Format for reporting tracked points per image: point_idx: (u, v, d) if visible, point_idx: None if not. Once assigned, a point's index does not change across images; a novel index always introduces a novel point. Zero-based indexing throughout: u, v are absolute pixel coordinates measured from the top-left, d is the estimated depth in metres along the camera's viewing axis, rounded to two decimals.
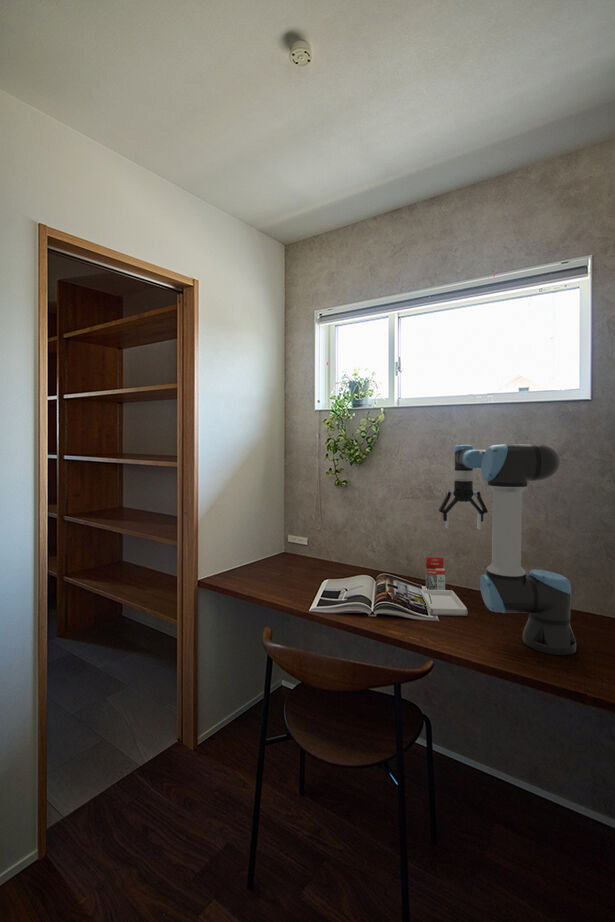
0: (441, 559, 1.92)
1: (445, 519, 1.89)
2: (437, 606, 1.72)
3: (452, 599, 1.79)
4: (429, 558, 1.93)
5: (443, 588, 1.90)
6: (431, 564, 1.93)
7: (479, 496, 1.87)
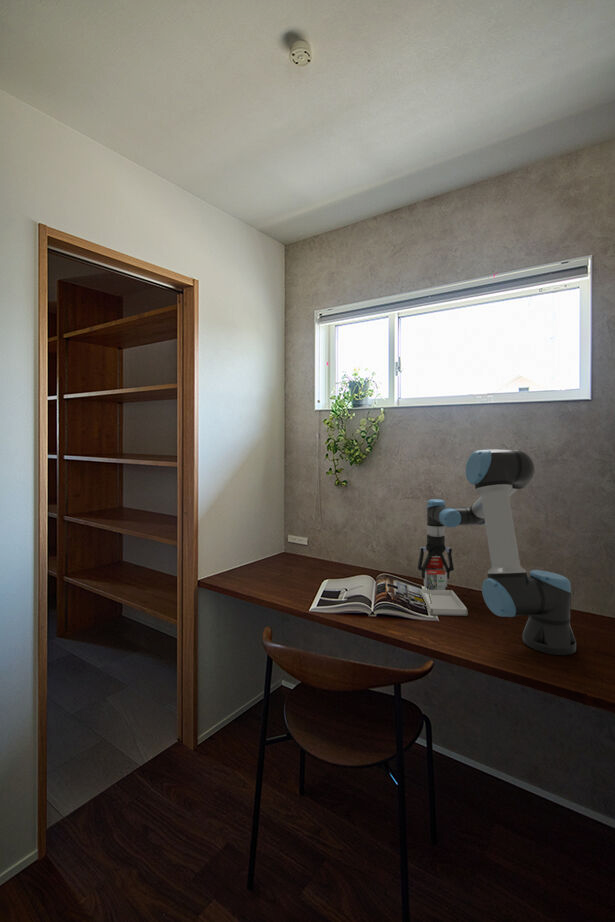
0: None
1: (423, 576, 1.91)
2: (437, 606, 1.72)
3: (452, 599, 1.79)
4: None
5: (443, 588, 1.90)
6: (432, 564, 1.93)
7: (450, 553, 1.89)
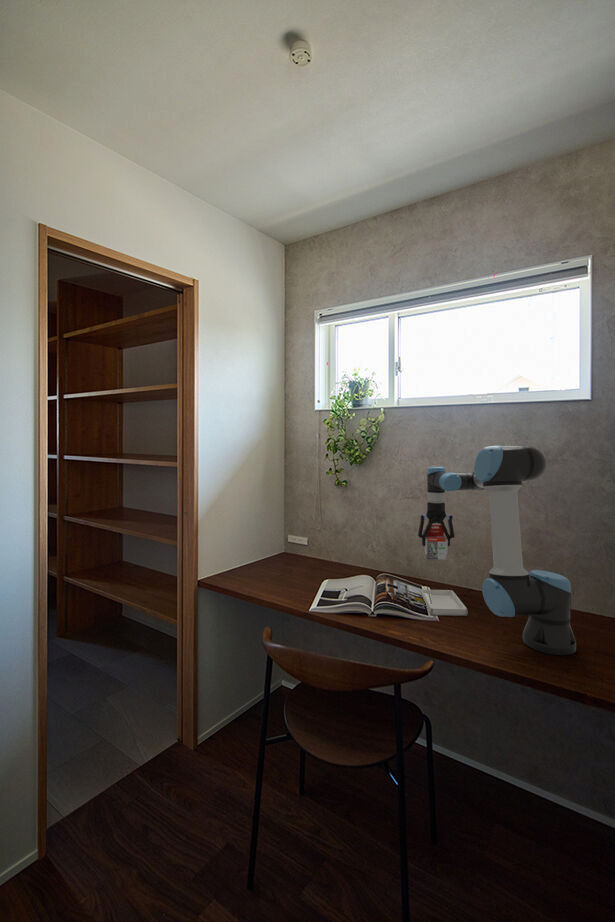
0: None
1: (424, 544, 1.90)
2: (437, 606, 1.72)
3: (452, 599, 1.79)
4: None
5: (444, 555, 1.89)
6: (432, 532, 1.92)
7: (450, 520, 1.89)
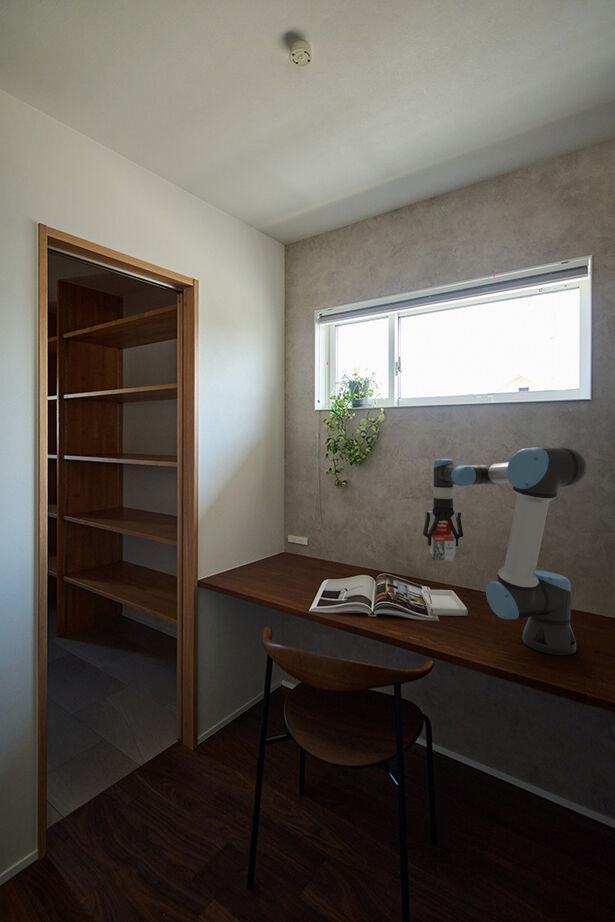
0: None
1: (430, 544, 1.74)
2: (437, 606, 1.72)
3: (452, 599, 1.79)
4: None
5: (451, 556, 1.72)
6: (439, 530, 1.75)
7: (459, 517, 1.72)
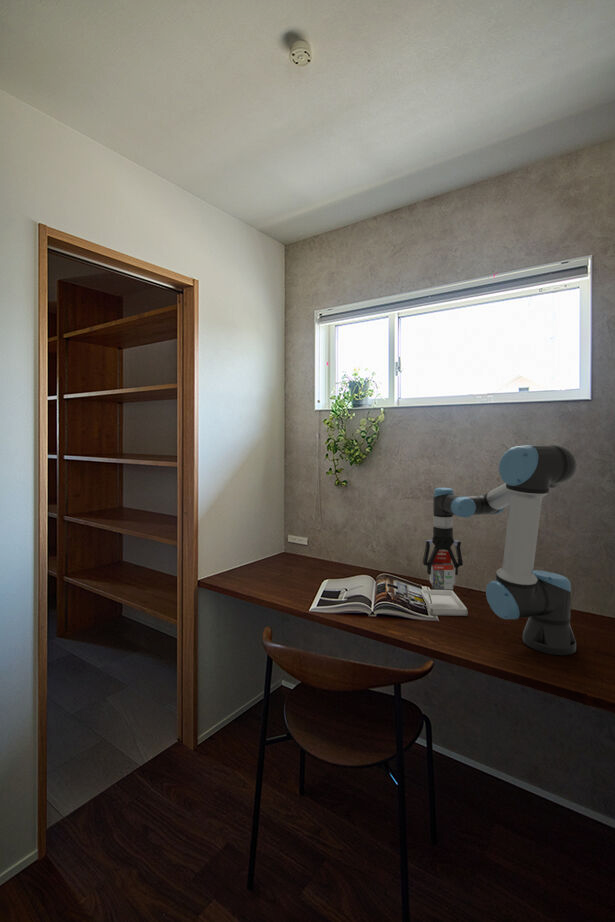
0: None
1: (429, 572, 1.74)
2: (437, 606, 1.72)
3: (452, 599, 1.79)
4: None
5: (451, 585, 1.73)
6: (438, 559, 1.76)
7: (458, 546, 1.72)
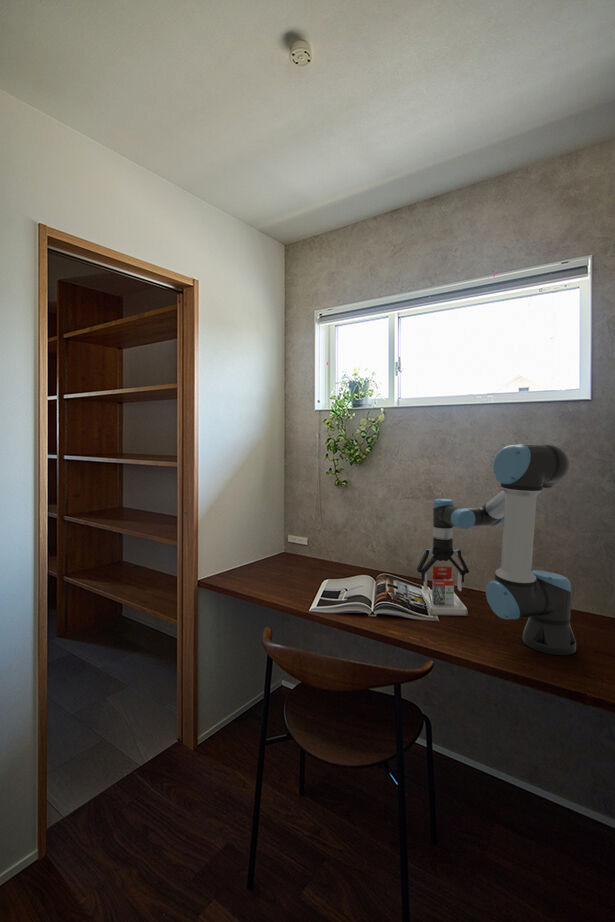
0: (449, 568, 1.75)
1: (423, 579, 1.74)
2: (437, 606, 1.72)
3: None
4: (436, 567, 1.76)
5: (452, 600, 1.73)
6: (439, 574, 1.76)
7: (460, 555, 1.72)
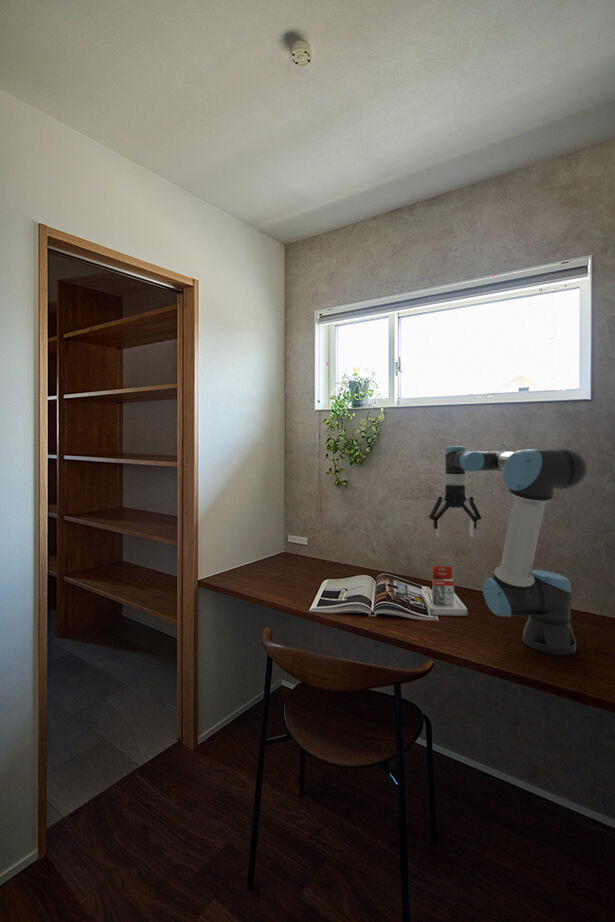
0: (449, 568, 1.75)
1: (436, 527, 1.74)
2: (437, 606, 1.72)
3: None
4: (436, 567, 1.76)
5: (452, 600, 1.73)
6: (439, 574, 1.76)
7: (472, 501, 1.73)
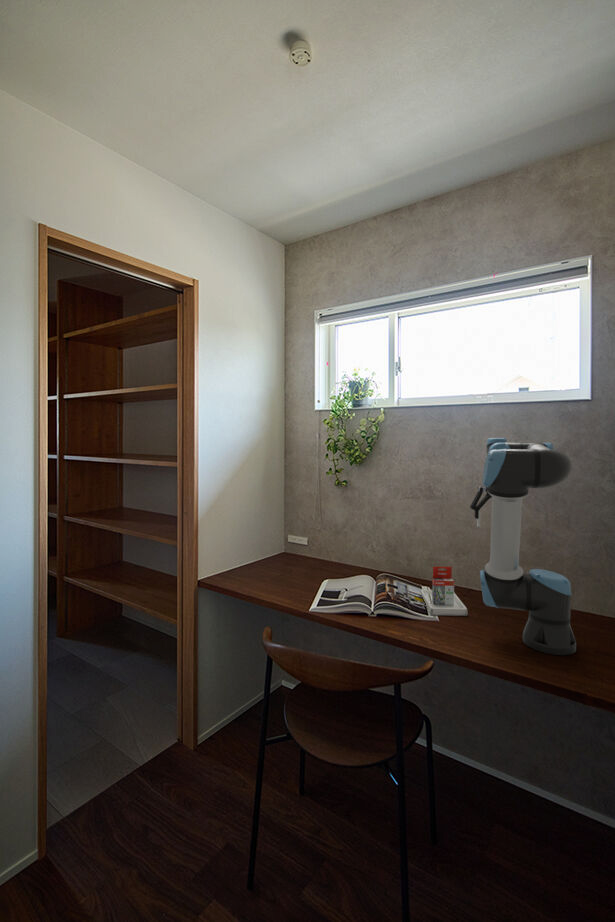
0: (449, 568, 1.75)
1: (477, 516, 1.79)
2: (437, 606, 1.72)
3: None
4: (436, 567, 1.76)
5: (452, 600, 1.73)
6: (439, 574, 1.76)
7: None
